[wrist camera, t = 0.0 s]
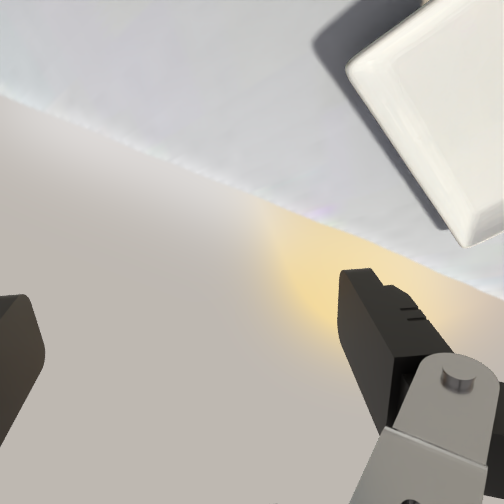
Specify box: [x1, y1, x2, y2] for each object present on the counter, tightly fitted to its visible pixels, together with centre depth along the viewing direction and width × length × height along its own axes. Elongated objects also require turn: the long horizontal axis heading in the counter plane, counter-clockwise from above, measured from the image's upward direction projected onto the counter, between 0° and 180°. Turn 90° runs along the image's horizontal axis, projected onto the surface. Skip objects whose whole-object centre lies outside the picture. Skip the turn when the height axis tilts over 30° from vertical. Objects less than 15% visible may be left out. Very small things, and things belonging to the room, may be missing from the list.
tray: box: [345, 0, 504, 248], centre depth 43 cm, size 17×32×4 cm, turn 39°
